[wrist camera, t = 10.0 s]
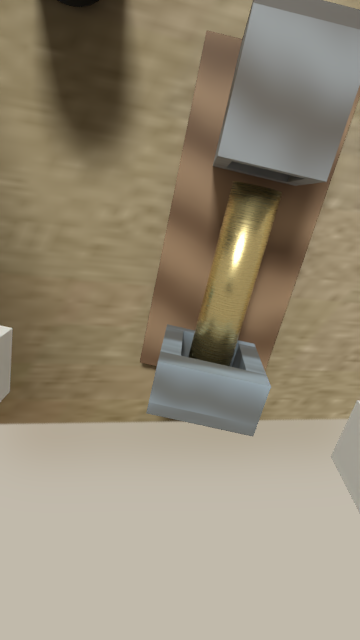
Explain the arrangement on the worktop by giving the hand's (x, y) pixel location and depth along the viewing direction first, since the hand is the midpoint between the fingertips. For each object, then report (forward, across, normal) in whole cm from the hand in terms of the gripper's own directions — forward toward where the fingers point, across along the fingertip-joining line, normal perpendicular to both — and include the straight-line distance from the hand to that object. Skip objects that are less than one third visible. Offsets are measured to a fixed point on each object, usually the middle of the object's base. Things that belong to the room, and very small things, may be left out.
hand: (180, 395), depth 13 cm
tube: (+17, +3, 0) cm, 17 cm away
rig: (+20, +3, +5) cm, 21 cm away
